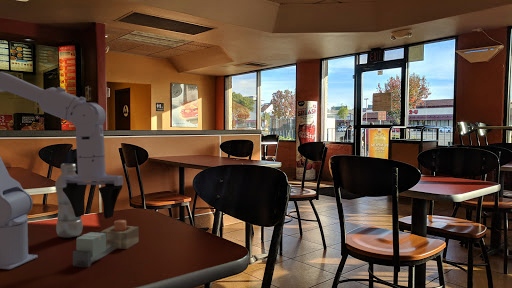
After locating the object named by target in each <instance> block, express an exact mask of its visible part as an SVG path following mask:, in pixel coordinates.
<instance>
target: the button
mask: <svg viewBox="0 0 512 288" xmlns="http://www.w3.org/2000/svg"><path fill="white" fill-rule="evenodd" d="M113 226H114V231H121V232H124V231H125V230H126V226H127V220H126V219H118V220H115V221H113Z"/></svg>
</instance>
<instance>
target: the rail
mask: <svg viewBox="0 0 512 288" xmlns="http://www.w3.org/2000/svg"><path fill="white" fill-rule="evenodd" d="M117 249H119V248H118V242H109V243H107V244H106V251H104V252H102V253H100V254H98V255H97V256H95V257H91V251H79V250H77V249H75V250H74V251H73V252H72V266H73V267H79V268H90V267H91V266H92V264H93V263H94V262H96V261H98V260H99V259H101V258H103V257H105V256H107V255H109V254H110V253H113V252H114V251H115V250H117Z"/></svg>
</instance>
